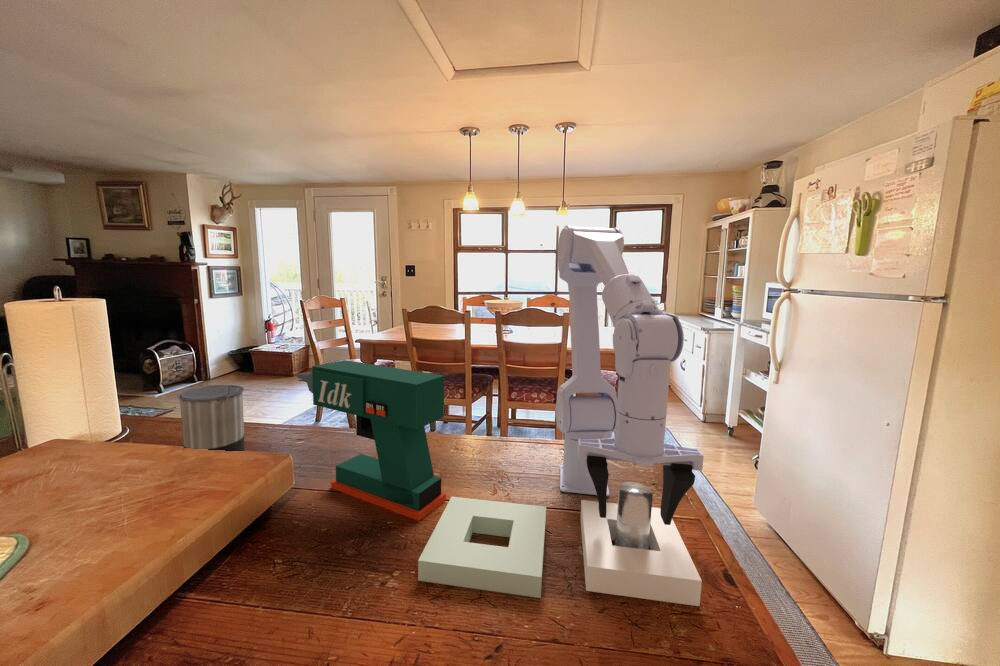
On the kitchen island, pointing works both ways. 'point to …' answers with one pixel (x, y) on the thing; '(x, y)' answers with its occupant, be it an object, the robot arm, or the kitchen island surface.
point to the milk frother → (213, 418)
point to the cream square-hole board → (637, 560)
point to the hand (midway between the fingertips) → (633, 516)
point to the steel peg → (633, 515)
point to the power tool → (385, 432)
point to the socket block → (487, 547)
